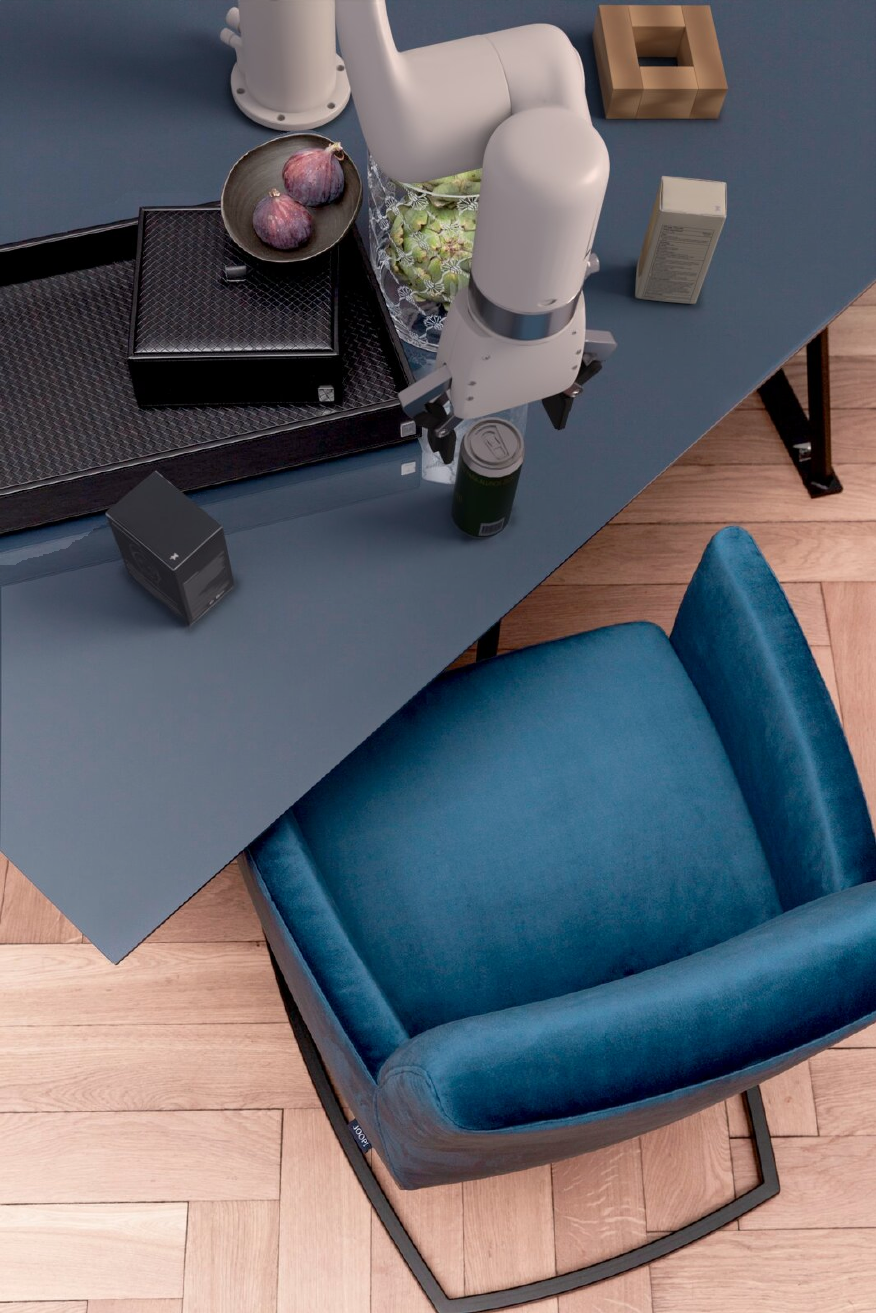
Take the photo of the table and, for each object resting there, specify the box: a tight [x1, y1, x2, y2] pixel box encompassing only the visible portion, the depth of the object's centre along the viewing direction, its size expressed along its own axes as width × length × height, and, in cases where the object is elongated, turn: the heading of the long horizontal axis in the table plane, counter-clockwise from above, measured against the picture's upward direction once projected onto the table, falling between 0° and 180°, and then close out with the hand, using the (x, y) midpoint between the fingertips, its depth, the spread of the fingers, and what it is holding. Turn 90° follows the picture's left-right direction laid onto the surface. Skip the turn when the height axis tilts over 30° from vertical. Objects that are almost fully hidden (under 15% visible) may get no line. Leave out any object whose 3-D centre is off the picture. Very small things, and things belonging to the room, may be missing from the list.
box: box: [105, 470, 235, 627], centre depth 100 cm, size 8×6×11 cm
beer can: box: [450, 416, 526, 539], centre depth 104 cm, size 5×5×12 cm
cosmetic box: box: [634, 175, 728, 305], centre depth 116 cm, size 6×4×12 cm
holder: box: [592, 4, 729, 120], centre depth 131 cm, size 12×12×4 cm
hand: (497, 432), depth 97 cm, fingers open, 9 cm apart
